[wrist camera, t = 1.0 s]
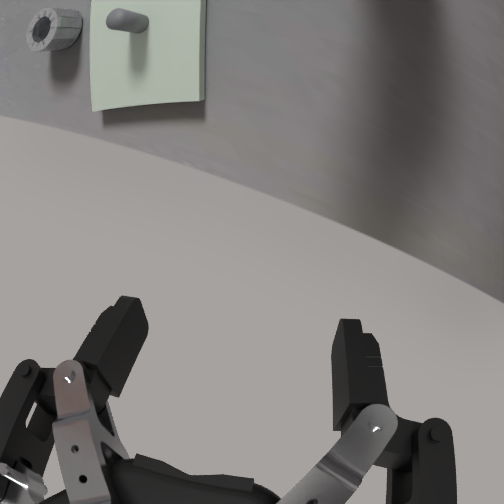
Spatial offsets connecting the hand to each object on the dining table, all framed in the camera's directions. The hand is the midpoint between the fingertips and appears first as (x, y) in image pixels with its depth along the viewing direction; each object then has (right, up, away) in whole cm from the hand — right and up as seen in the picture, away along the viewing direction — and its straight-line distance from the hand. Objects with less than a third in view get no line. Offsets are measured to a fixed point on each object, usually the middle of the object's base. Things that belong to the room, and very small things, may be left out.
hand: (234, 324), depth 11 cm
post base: (-11, +29, +13) cm, 34 cm away
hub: (-24, +32, +13) cm, 42 cm away
